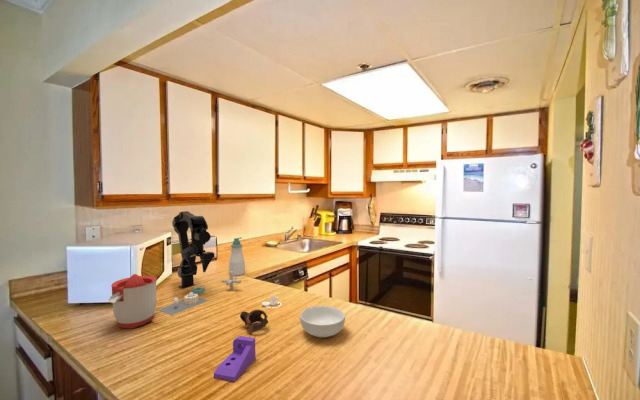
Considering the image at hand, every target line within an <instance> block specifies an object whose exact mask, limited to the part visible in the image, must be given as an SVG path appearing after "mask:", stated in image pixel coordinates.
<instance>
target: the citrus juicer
mask: <svg viewBox="0 0 640 400" xmlns="http://www.w3.org/2000/svg"><path fill="white" fill-rule="evenodd" d="M157 279H158V278H157V277H156V276H153V275H138V274H137V273H133V274H132V275H131V276H130V277H126V278H121V279H119V280H116V281H114V282H113V283H111V286H110V287H111V296H110V297H109V299H108V302H109V303H111V304H112V311H113V315H114V318H115V321H116V323H117V325H118V326H119V327H120V328H122V329H134V328H137V327H141V326H143V325H146V324H148V323H150V322H151V321H152V319H153V318H154V316H155V312H156V307H157Z"/></svg>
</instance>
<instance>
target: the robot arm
mask: <svg viewBox="0 0 640 400" xmlns="http://www.w3.org/2000/svg"><path fill="white" fill-rule="evenodd" d="M208 225H209V224H208V222H207V221H206V218H205V217H204V216H203V215H194V214H193V213H191V211H180V212H179V213H178V214H177V215H175V217H173V220H172V227H173V230H174V232H175V233H176V234H177V235H178V236H177V237H178V241H179V243H178V244H179V248H180V254H181V261H180V263H179V268H178V271H177V277H179V278H181V279H180V281H181V282H180V283H181V284H180V285H178V287H179V288H180V289H182V288H183V289H186V288H190V287H193V286H197V285H196V284H194V283H195V282H194V276H196V275H197V273H198V265H197V263H196V260H197V257H198V258H199V261H200V262H201V266H202V272H203V273H206V272H207V269H208V267H209V265H210V263H211V261H212V260H213V259H214V258H215V253H214V252H213V251H206V249H204V248H205V247H204V245H206V243H209V242H210V240H211V234H210V232H209V231H208V229H209V228H208V227H209V226H208ZM189 230H190V242H189V236H188V231H189Z"/></svg>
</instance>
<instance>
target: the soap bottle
mask: <svg viewBox="0 0 640 400" xmlns="http://www.w3.org/2000/svg"><path fill="white" fill-rule="evenodd" d="M240 239H242V237H240V236H239V237H236V238H235V237H234V239H233V240H232V244H231V245H230V248H231V249H230V250H231V251H230V258H229V260H228V274H229V275H230V272H231V271H233V277H238V276H242V275H244V274H245V273H246V265H245V259H244V254H243V246H244V245H243V243H241V241H240Z"/></svg>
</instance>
